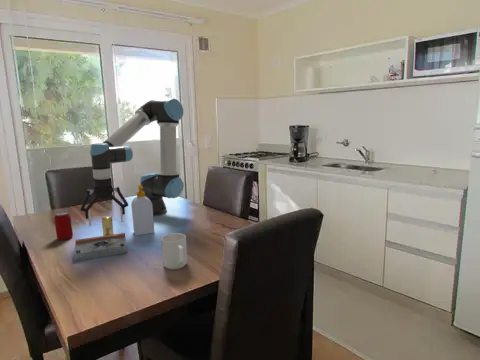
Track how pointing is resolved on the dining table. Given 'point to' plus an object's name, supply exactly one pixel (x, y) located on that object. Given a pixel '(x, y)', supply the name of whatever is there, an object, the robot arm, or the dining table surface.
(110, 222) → the brass cylinder
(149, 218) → the soap bottle
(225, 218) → the dining table surface
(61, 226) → the beverage can
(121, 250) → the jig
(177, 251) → the mug
